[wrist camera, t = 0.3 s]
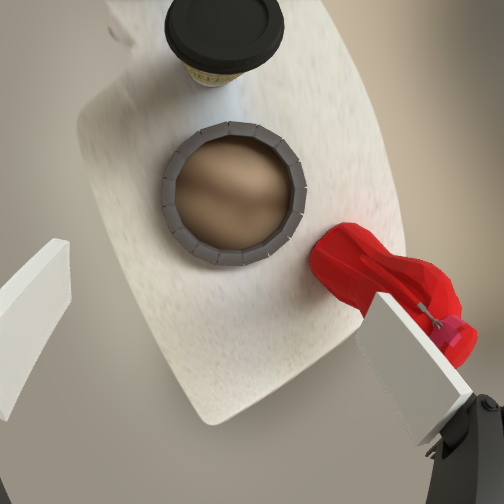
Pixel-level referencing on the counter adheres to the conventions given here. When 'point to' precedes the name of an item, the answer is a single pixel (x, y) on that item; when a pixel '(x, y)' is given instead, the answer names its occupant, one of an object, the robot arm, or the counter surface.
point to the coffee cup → (223, 36)
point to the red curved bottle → (393, 286)
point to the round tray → (233, 193)
